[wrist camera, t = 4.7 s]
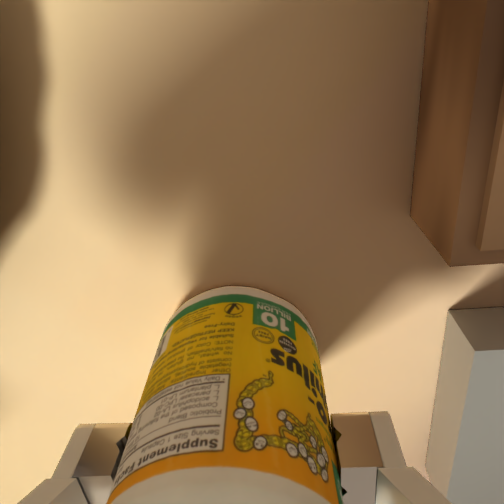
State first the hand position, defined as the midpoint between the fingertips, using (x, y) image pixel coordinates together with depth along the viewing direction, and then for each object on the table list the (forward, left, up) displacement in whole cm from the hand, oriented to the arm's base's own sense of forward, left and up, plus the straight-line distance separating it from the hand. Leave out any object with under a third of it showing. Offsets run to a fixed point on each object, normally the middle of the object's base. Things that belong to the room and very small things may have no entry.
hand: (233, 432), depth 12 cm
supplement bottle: (0, 0, -4) cm, 4 cm away
